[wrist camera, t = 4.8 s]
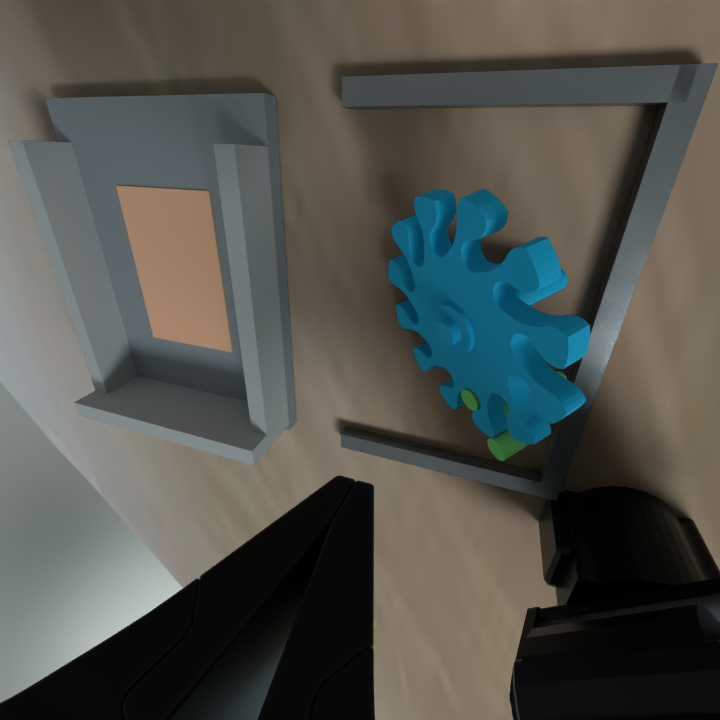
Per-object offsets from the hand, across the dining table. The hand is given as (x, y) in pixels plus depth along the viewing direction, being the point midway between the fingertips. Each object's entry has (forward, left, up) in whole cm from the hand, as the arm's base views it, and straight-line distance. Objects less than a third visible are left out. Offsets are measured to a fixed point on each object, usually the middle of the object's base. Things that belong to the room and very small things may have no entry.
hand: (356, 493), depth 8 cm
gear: (0, 0, -14) cm, 14 cm away
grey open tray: (+15, 0, -12) cm, 19 cm away
